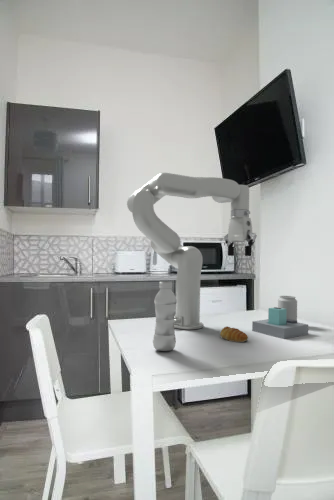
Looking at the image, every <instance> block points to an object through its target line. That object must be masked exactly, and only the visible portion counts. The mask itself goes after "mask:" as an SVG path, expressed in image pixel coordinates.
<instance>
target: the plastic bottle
mask: <svg viewBox="0 0 334 500" xmlns="http://www.w3.org/2000/svg"><path fill="white" fill-rule="evenodd" d="M158 284H159V285H158V288H159V290H158V292H157V293H156V294H155V297H154V301H153V302H154V309H155V310H154V311H155V326H154V334H153V339H152V344H153V348H154V349H155V350H156V351H160V352H170V351H173V350H174V349H175V347H176V344H177V339H176V334H175V327H174V318H175V314H176V303H177V299H176V293H174V292H173V281H167V280H165V281H164V280H163V281H159V282H158Z"/></svg>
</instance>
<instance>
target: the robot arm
mask: <svg viewBox="0 0 334 500" xmlns="http://www.w3.org/2000/svg"><path fill="white" fill-rule="evenodd" d="M165 196H168V197H177V198H185V199H199V198H200V199H201V198H206V197H211V198H212V200H213V201H214V202H215V203H218V204H220V203H221V204H223V203H225V204H226V203H230V218H229V224H228V229H227V231H228V232H227V234H225V235H224V237H223V239H224V241H225V244H226V247H227V256H228V257H229V256H230V257H232V256H234V257H235V246H234V245H235V244H236V243H244V244H245V246H244V256H245V257H252V247H253V246H254V243H255V242H256V238H257V237H258V236H257V234H256V233H254V232H253V223H252V219H251V217H250V215H251V211H250V187H249V186H248V185H245V184H239V183H238V182H237V181H235V180H233V179H229V178H222V177H217V176H216V177H213V176H212V177H211V176H210V177H209V176H208V177H206V176H205V177H204V176H189V175H182V174H176V173H170V172H161V173H158V174H157V175H155V176H154V177H153V178H152V179H150V180H149V181H148V182H147V183H145V184H144V185H143V186H142V187H141V188H139V189H137V190H135V191H134V192H133V193H132V194H131V195H129V197H128V199H127V201H126V205H127V209H128V211H130V212H131V213H132V217H133V222H134V224H135V226H136V227H137V229H138V230H139V231H140V232H141V233H142V234H143V235H144V236H145V237H146V238H147V239H148V240H150V245H151V248H152V250H153V251H154V253H156V254H157V255H158V256H159V257H161V258H162V259H163V260H164V261H166V262H167V264H169V265H170V266H172V267H173V268H175V269H177V272H176V279H175V282H176V283H175V296H176V299H177V303H176V309H175V318H174V329H178V330H179V329H180V330H200V329H203V328H204V322H201V320H200V319H201V318H200V317H201V316H200V315H201V277H202V274H201V273H202V268H203V260H204V259H203V255H202V252H201V251H200V249H198V248H197V247H195V246H192V245H190V246H189V245H188V246H187V245H186V246H184V245H182V243H181V242H182V241H181V237H180V236H179V234H178V233H176V231H175V230H173V229H172V228H171V227H170V226H168V225H167V224H166V223H165V222H164V221H163V220H162V219H160V218H159V217H158V215H157V213H156V212H155V209H154V205H155V204H156V203H158V202H159V201H160V200H161V199H162V198H164V197H165Z"/></svg>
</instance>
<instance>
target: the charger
mask: <svg viewBox="0 0 334 500" xmlns="http://www.w3.org/2000/svg"><path fill="white" fill-rule="evenodd" d="M267 310H268V312H267V313H268V323H269V324H274V325H278V326H280V325H286V309H284V308H278V306H274V307H268V309H267Z"/></svg>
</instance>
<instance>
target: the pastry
mask: <svg viewBox="0 0 334 500" xmlns="http://www.w3.org/2000/svg"><path fill="white" fill-rule="evenodd" d="M219 336H220V338H221V339H225V341H231V342H235V343H239V342H240V343H244V342H246V341H248V339H249V336H248V335H247V334H246V333H245V332H244V331H242V330H240V329H239V328H236V327H229V326H224V327H223V328H222V329H221V331H220V333H219Z"/></svg>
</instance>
